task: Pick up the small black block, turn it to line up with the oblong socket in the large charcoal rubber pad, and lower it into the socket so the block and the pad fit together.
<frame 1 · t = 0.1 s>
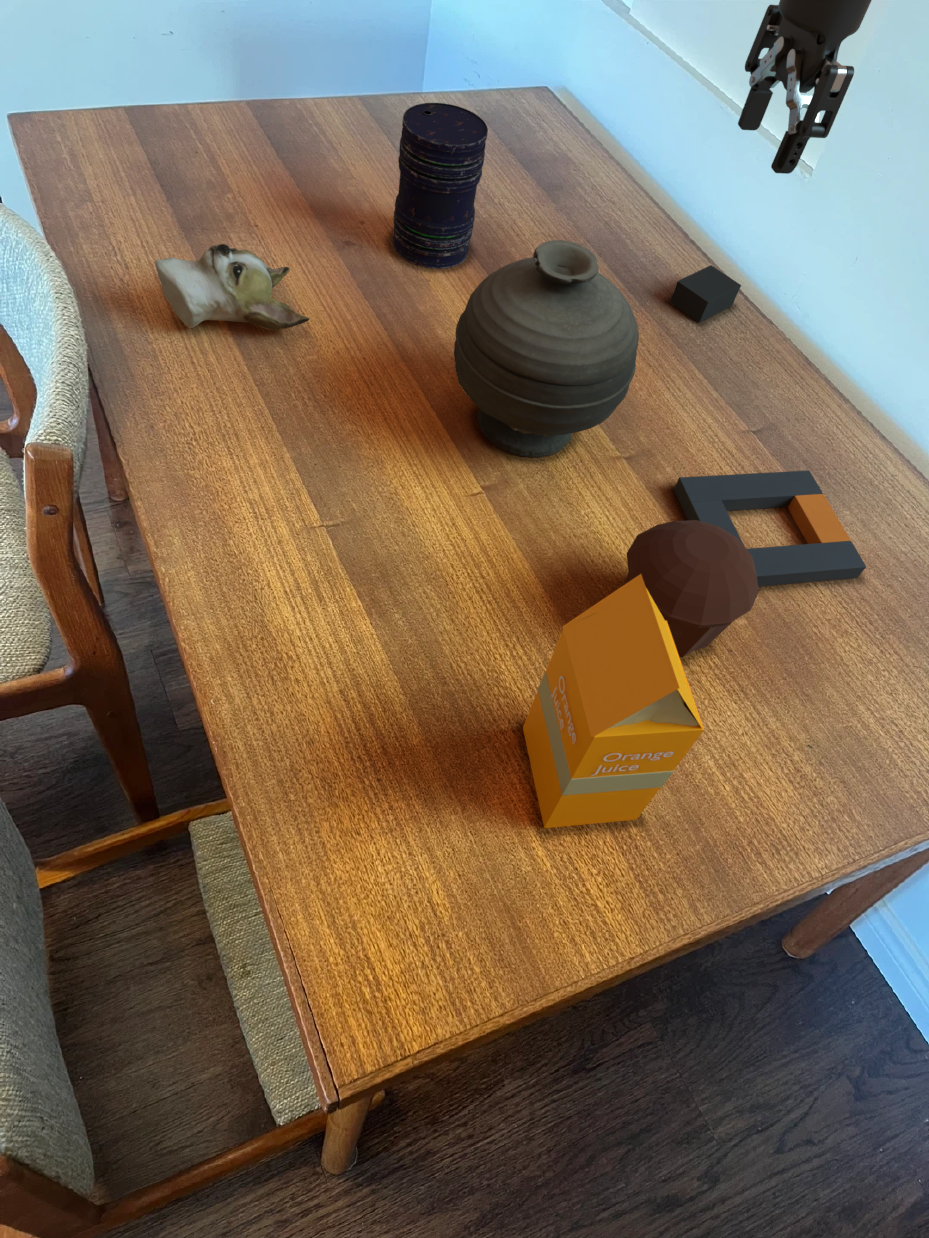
hand: (763, 149, 89), 23 cm above the table, tool pointing down, fingers open, 8 cm apart
socket pad: (763, 533, 89), on the table
orange juice: (577, 773, 70), on the table
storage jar: (430, 247, 111), on the table
muffin: (666, 617, 81), on the table
black block: (700, 304, 112), on the table
pot: (524, 426, 93), on the table
ceramic sculpture: (233, 317, 97), on the table
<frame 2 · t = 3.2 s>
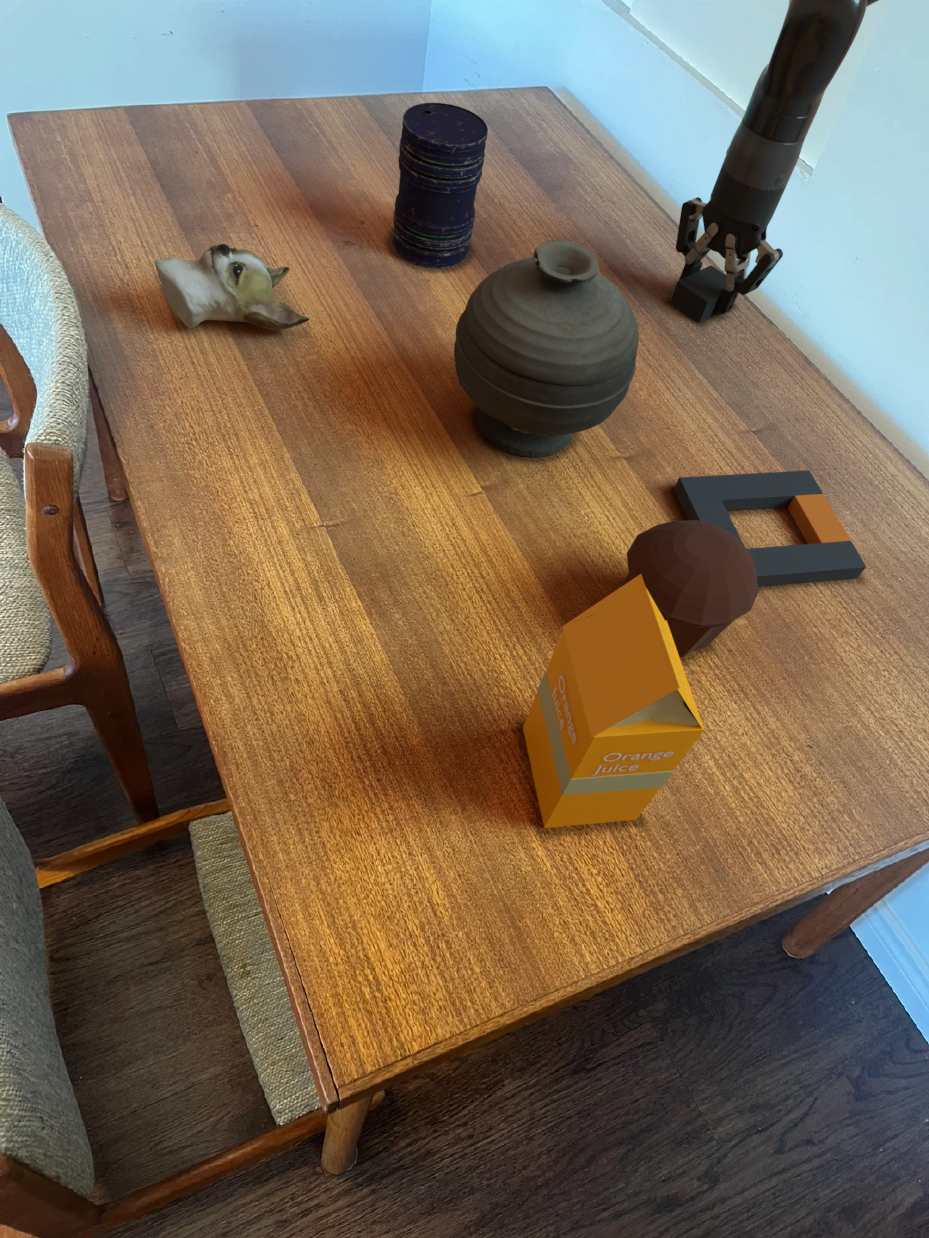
hand: (702, 301, 111), 0 cm above the table, tool pointing down, fingers closed on black block, 5 cm apart
black block: (700, 304, 112), on the table, touching gripper
everything else where it was.
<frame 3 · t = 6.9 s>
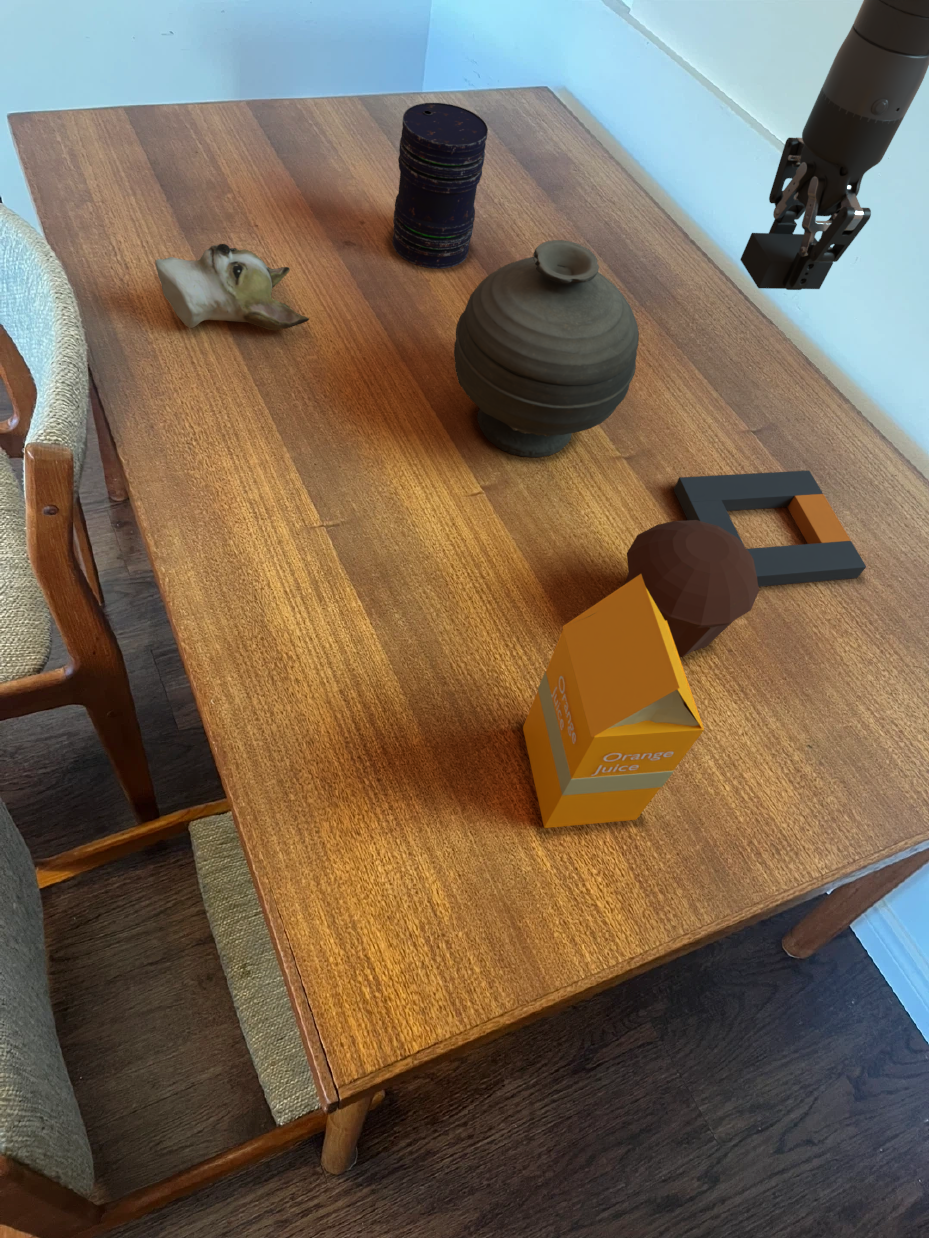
hand: (781, 270, 90), 15 cm above the table, tool pointing down, fingers closed on black block, 5 cm apart
black block: (779, 274, 90), point 15 cm above the table, touching gripper
everything else where it was.
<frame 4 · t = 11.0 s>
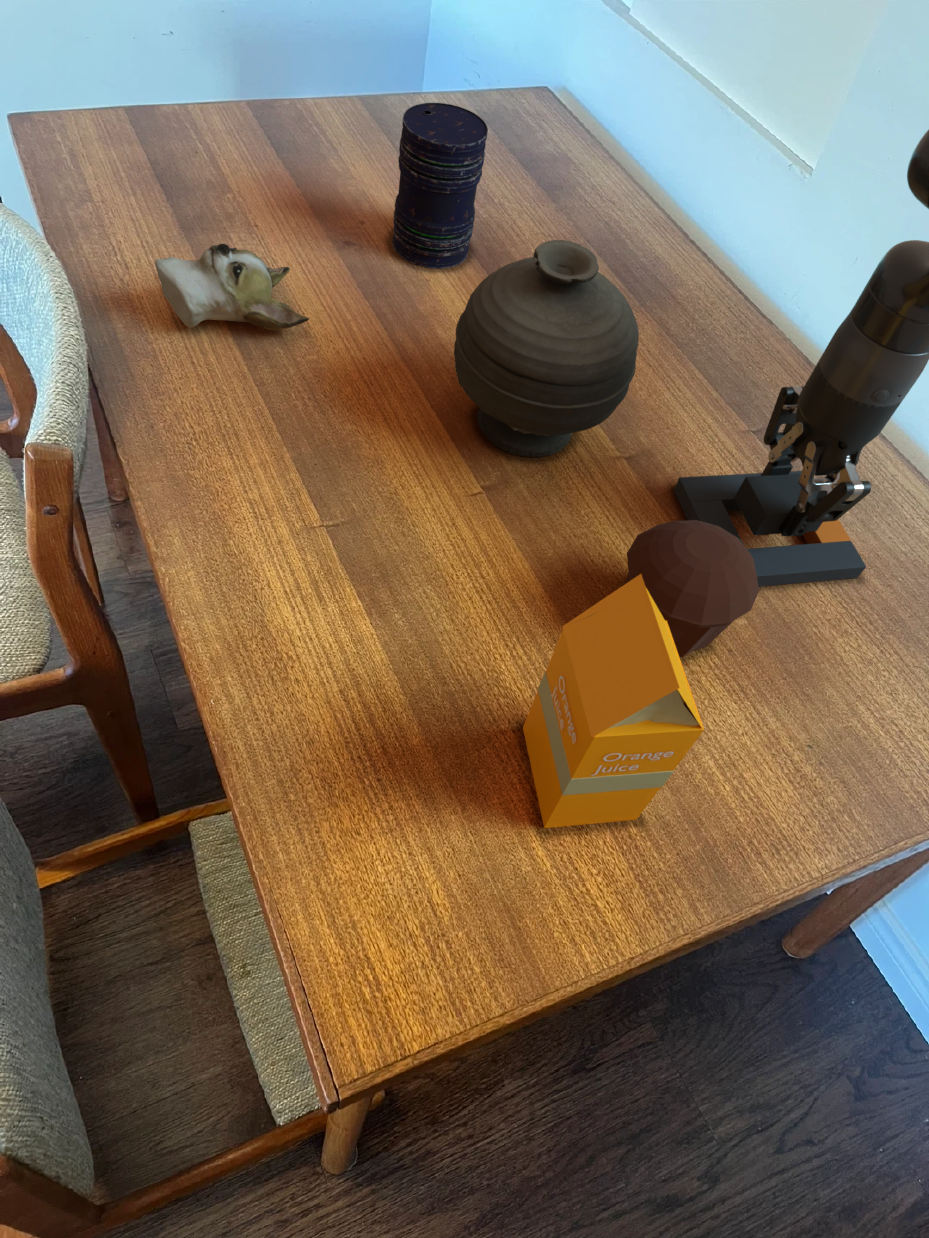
hand: (777, 511, 86), 3 cm above the table, tool pointing down, fingers closed on black block, 5 cm apart
black block: (774, 514, 87), point 3 cm above the table, touching gripper
everything else where it was.
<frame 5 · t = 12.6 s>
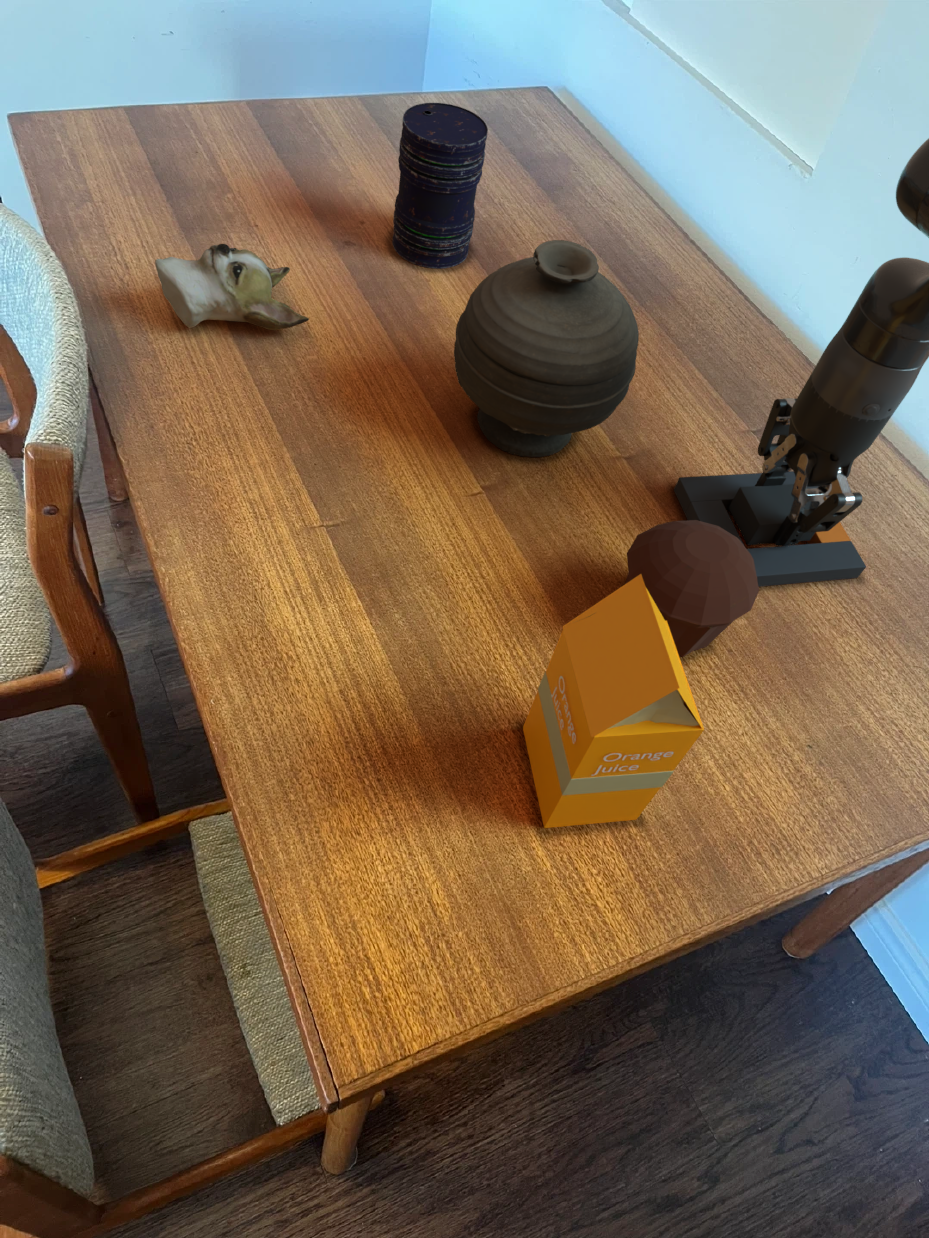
hand: (770, 521, 87), 2 cm above the table, tool pointing down, fingers closed on black block, 5 cm apart
black block: (768, 524, 88), point 1 cm above the table, touching gripper
everything else where it was.
when the fingers open (3 cm above the table, at t = 18.7 s): black block drops 2 cm, resting in socket pad.
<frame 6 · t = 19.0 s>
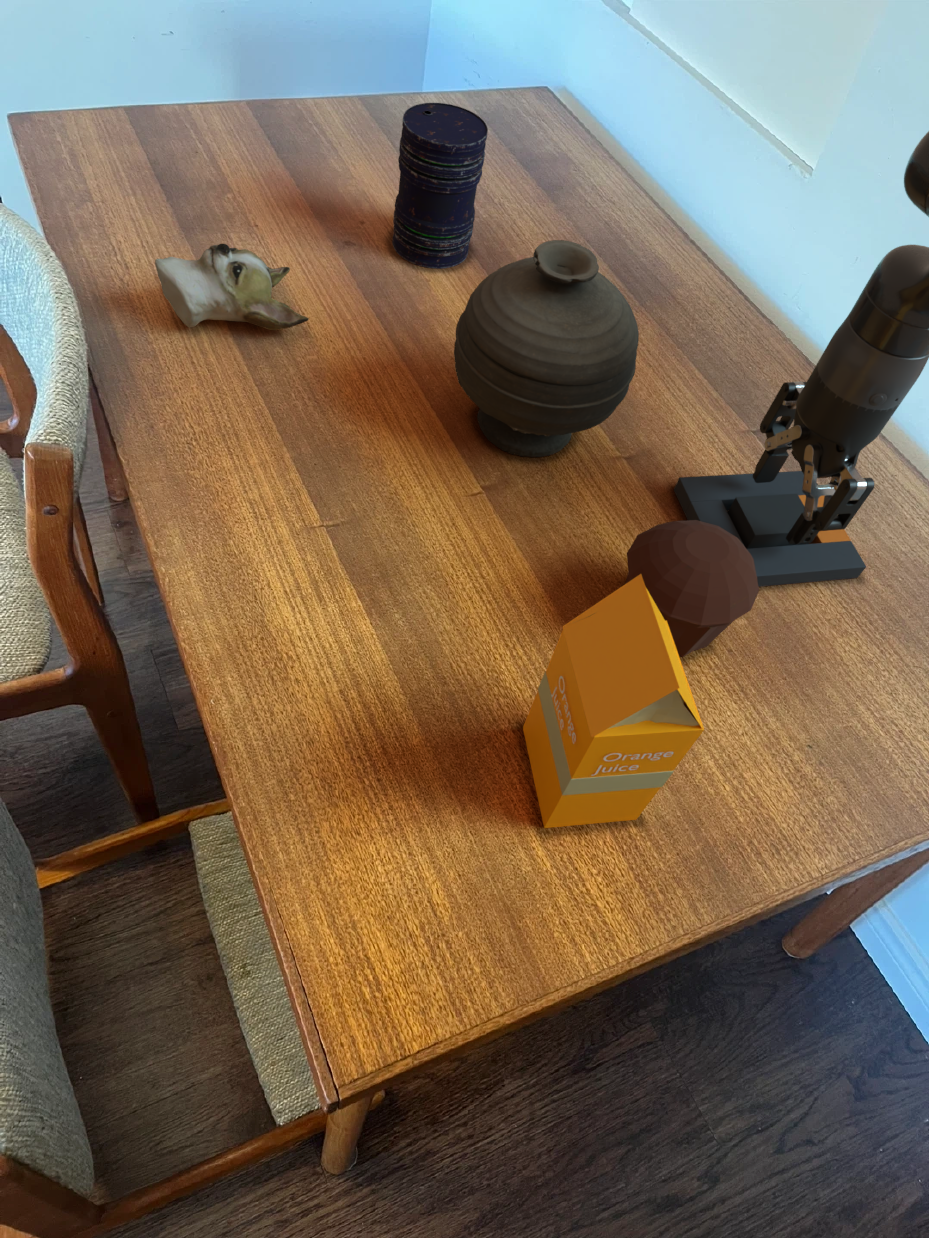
hand: (778, 509, 86), 3 cm above the table, tool pointing down, fingers open, 7 cm apart
black block: (764, 533, 89), resting in socket pad
everything else where it was.
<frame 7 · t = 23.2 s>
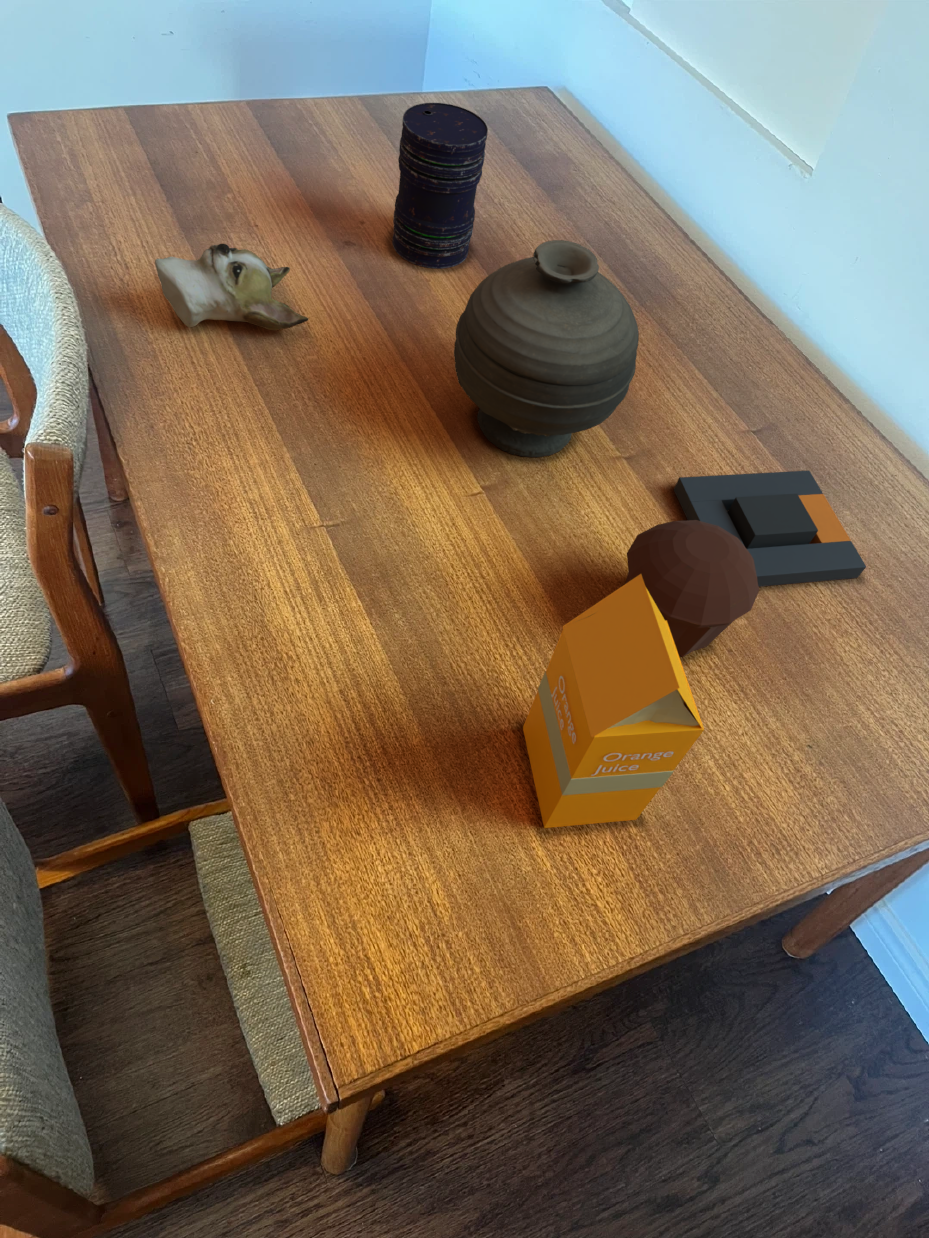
nothing on the table moved.
at the end: black block 0.1 cm off-centre on the socket pad, point 0.0 cm above the socket pad's base; black block tilted 0°; the gripper is holding nothing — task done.
